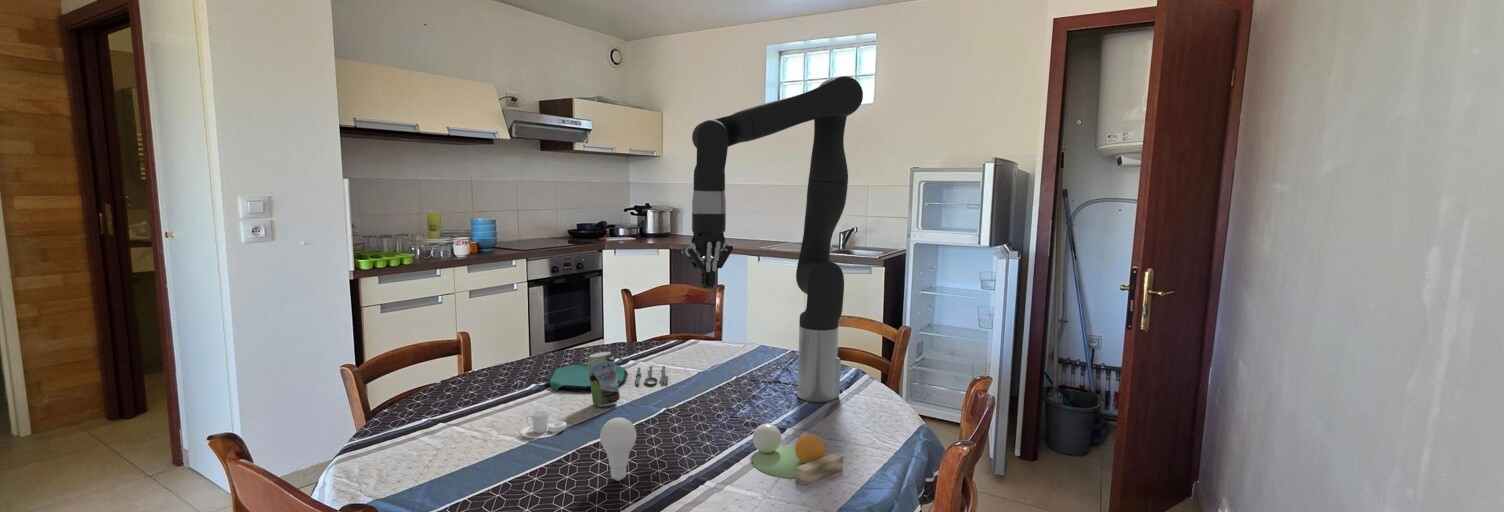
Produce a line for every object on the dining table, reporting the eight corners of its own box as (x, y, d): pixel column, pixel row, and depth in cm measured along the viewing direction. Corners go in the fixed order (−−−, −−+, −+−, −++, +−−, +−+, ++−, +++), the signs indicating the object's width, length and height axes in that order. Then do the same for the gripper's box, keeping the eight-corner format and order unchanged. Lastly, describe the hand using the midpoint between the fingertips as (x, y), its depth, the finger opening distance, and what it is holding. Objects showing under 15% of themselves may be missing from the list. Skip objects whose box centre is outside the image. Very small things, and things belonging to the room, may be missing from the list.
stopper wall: (834, 465, 125) (834, 452, 124) (842, 469, 123) (843, 456, 123) (795, 481, 118) (795, 467, 118) (803, 485, 117) (804, 471, 116)
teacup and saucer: (572, 429, 141) (571, 410, 140) (548, 443, 133) (548, 423, 133) (536, 423, 144) (536, 405, 143) (511, 437, 136) (511, 417, 136)
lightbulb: (602, 472, 120) (602, 412, 119) (637, 472, 120) (637, 412, 119) (598, 488, 114) (597, 425, 113) (634, 487, 114) (634, 424, 113)
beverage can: (613, 410, 151) (613, 357, 150) (582, 407, 153) (582, 355, 151) (624, 401, 157) (624, 350, 156) (594, 398, 159) (594, 348, 157)
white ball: (784, 451, 132) (765, 433, 135) (789, 431, 129) (769, 413, 132) (764, 463, 128) (744, 445, 131) (769, 443, 125) (749, 425, 128)
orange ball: (822, 462, 128) (810, 434, 130) (835, 454, 123) (822, 426, 125) (798, 472, 125) (785, 444, 127) (810, 465, 120) (797, 435, 123)
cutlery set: (553, 371, 181) (553, 363, 181) (667, 369, 185) (667, 361, 185) (541, 396, 162) (541, 386, 161) (669, 392, 166) (669, 383, 166)
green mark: (803, 441, 136) (803, 440, 136) (842, 469, 123) (842, 468, 123) (739, 453, 129) (739, 452, 129) (774, 483, 117) (774, 482, 117)
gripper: (721, 209, 159) (720, 282, 161) (674, 211, 151) (674, 288, 153) (742, 211, 154) (741, 287, 156) (694, 212, 145) (694, 293, 147)
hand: (708, 287), depth 154 cm, fingers closed
